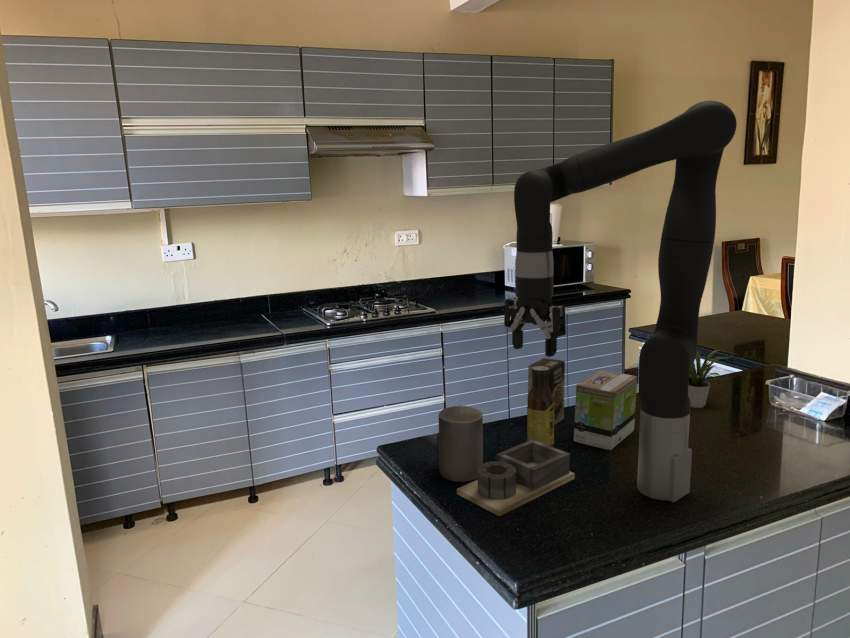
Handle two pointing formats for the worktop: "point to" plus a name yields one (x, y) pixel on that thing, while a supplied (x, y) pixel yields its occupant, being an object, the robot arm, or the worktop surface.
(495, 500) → the socket board
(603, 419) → the tea box
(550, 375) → the coffee box
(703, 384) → the house plant
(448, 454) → the pillar candle
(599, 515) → the worktop surface
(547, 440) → the sauce bottle
